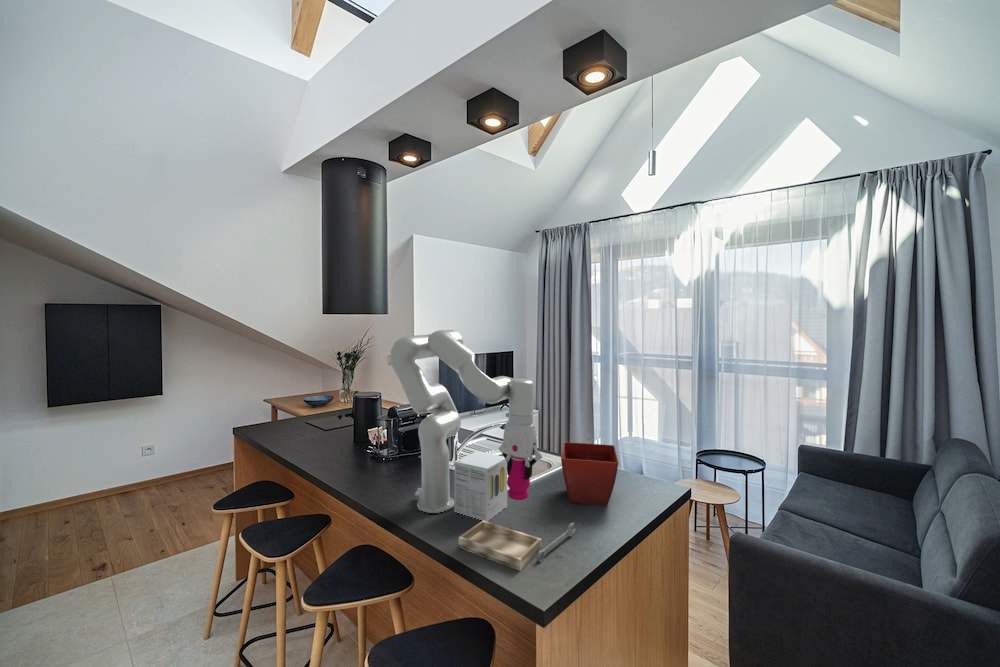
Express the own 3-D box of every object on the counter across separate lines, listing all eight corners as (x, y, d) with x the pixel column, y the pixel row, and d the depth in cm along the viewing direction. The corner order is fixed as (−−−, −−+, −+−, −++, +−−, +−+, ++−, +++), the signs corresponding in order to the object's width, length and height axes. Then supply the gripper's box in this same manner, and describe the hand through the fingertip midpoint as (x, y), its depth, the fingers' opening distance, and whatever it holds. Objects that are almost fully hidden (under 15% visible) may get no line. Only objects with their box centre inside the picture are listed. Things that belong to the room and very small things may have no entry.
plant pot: (618, 511, 139) (618, 462, 138) (560, 506, 142) (560, 458, 142) (614, 488, 157) (614, 444, 157) (563, 484, 161) (563, 441, 160)
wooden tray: (458, 548, 117) (458, 537, 117) (483, 529, 127) (482, 520, 127) (520, 571, 106) (520, 559, 106) (541, 549, 116) (541, 538, 116)
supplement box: (487, 523, 131) (486, 468, 130) (453, 513, 138) (453, 461, 137) (508, 507, 142) (508, 456, 142) (476, 498, 149) (476, 450, 148)
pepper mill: (501, 495, 131) (503, 432, 130) (517, 489, 136) (519, 428, 135) (518, 503, 125) (520, 438, 125) (534, 496, 131) (536, 433, 130)
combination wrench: (539, 552, 109) (577, 522, 124) (535, 550, 110) (573, 520, 125) (539, 566, 109) (577, 534, 125) (535, 564, 110) (574, 532, 125)
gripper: (491, 417, 131) (489, 473, 132) (539, 426, 122) (538, 486, 122) (503, 412, 137) (502, 466, 138) (550, 420, 128) (549, 478, 129)
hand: (519, 475), depth 130 cm, fingers closed on pepper mill, 5 cm apart
